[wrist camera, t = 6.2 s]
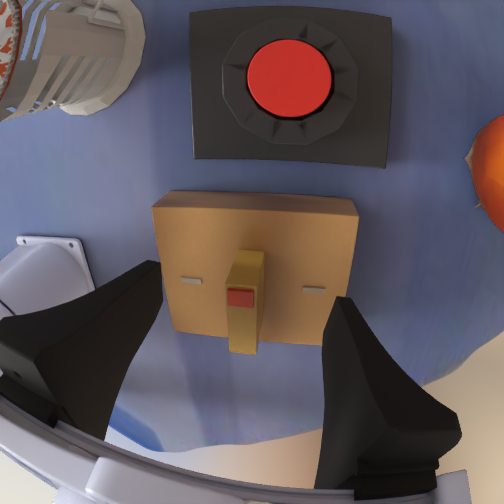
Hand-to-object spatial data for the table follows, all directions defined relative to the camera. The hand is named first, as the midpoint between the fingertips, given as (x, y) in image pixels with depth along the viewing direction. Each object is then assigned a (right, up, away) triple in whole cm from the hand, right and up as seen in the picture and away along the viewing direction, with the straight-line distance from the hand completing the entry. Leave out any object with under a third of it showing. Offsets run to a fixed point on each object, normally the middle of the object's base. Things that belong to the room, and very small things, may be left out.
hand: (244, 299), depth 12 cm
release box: (+3, +12, +3) cm, 12 cm away
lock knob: (0, 0, +7) cm, 7 cm away
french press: (-10, +16, +3) cm, 20 cm away
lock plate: (+1, +1, +10) cm, 10 cm away
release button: (+2, +10, +1) cm, 10 cm away
